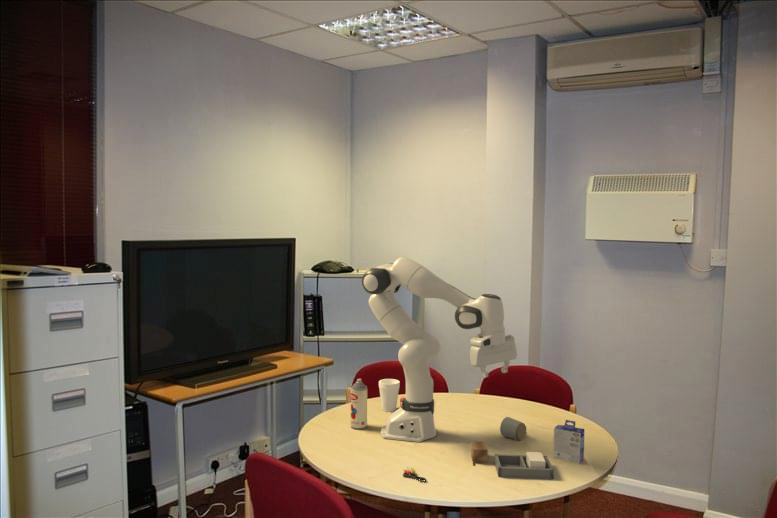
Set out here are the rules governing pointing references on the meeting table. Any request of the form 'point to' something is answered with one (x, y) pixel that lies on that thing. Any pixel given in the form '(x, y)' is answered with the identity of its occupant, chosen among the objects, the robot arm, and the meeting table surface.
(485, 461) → the walnut block
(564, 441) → the ink cartridge box
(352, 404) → the aerosol can
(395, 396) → the foam cup
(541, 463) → the off-white block
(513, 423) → the ceramic mug
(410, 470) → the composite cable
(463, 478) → the meeting table surface
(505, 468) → the holder
